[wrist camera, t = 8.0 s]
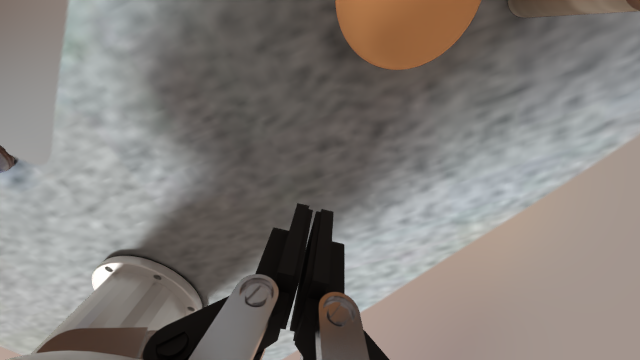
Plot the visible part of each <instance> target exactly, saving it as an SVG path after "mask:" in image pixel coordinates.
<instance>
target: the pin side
mask: <svg viewBox="0 0 640 360" xmlns="http://www.w3.org/2000/svg"><path fill="white" fill-rule="evenodd" d="M507 2H508V6H509V9H510V10H511V12H512V13H513V14H514V15H516V16H518V17H522V18H531V17H548V16H565V15H582V14H599V13H616V12H633V11H640V0H507Z"/></svg>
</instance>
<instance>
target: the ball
mask: <svg viewBox="0 0 640 360" xmlns="http://www.w3.org/2000/svg"><path fill="white" fill-rule="evenodd" d="M480 3H481V0H335V5H336V12H337V17H338V21H339V25H340V28H341V30H342V33H343V35H344V37H345V39H346V41H347V42H348V44H349V45H350V46H351V48H352V49H353V50H354V51H355V52H356V53H357V54H358V55H359V56H360V57H361V58H363V59H364V60H365V61H367V62H369V63H370V64H373V65H375V66H378V67H381V68H385V69H391V70H403V69H410V68H414V67H417V66H421V65H423V64H425V63H428V62H430V61H432V60H433V59H435V58H437V57H438V56H440V55H441V54H443V53H444V52H445V51H446V50H448V49H449V48H450V47H451V46H452V45H453V44H454V43H455V42H456V41H457V40H458V39H459V38H460V37H461V35H462V34H463V33H464V31H465V30H466V29H467V27H468V26H469V24H470V23H471V21H472V19H473V18H474V16H475V14H476V12H477V10H478V7H479V5H480Z"/></svg>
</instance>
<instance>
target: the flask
mask: <svg viewBox="0 0 640 360" xmlns="http://www.w3.org/2000/svg"><path fill="white" fill-rule="evenodd" d="M14 160H15V158H14V157H13V156H11V155H9V154H8V153H7V152H6V151H5V149H4V148H3V147H2V146H0V173H1V172H4V171H7V170H9V169H10V168H11V167H13V166H14V165H15V164H14Z"/></svg>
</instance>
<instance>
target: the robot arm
mask: <svg viewBox="0 0 640 360" xmlns="http://www.w3.org/2000/svg"><path fill="white" fill-rule="evenodd" d="M312 212H313V210H310V209H309V206H307V205H303V204H299V203H297V207H296V210H295V214H294V217H293V220H292V224H291V227H290V231H287V230H282V229H278V228H273V230H272V232H271V235H270V237H269V240H268V243H267V245H266V248H265V250H264V253H263V256H262V258H261V261H260V263H259V266H258V269H257V271H256V274H253V275H249V276H247V277H245V278H243V279H242V280H241V281H240V282H239V283H238V284H237V285H236V287H235V289H234V290H233V292H232V293H231V295H230V296H228V297H226V298H224V299H222V300H220V301H217V302H215V303H213V304H211V305H209V306H207V307H204V308H202V303H201V300H200V297H199V295H198V294H197V292H196V290H195V289H194V288H193V287H192V286H191V285H190V284H189V283H188V282H187V281H186V280H185V279H184V278H183V277H181V276H180V275H179V274H177V273H176V272H174V271H173V270H171V269H169V268H167V267H165V266H163V265H161V264H159V263H156V262H154V261H151V260H148V259H144V258H140V257H134V256H116V257H111V258H109V259H107V260H105V261H104V262H103V263H101V264H100V265H99V266H98V267H97V268H96V269H95V270H94V272H93V274H92V285H93V287H94V290H95V291H94V292H93V293H92V294H91V295H90V296H89V297H88V298H87V299H86V300H85V301H84V302H83V303H82V304H81V305H80V306H79V307H78V308H77V309H76V310H75V311H74V312H73V313H72V314H71V315H70V316H69V317H68V318H67V319H66V320H65V321H64V322H63V323H62V324H60V325H59V326H58V327H57V328H56V329H55V330H54V331H53V332H52V333H51V334H50V335H49V336H48V337H47V338H46V339H45V340H44V341H43V342H42V343H41V344H40V345H39V346H38V347H37V348H36V349H35V350H34V351H33V352H32V353H31V354H29V355H24V356H20V357H14V358H10V359H7V360H262V358H263V355H264V353H265V349H266V348H267V347H268V346H270V345H271V344H273V343H274V342H276V341H277V340H278V337H279V333H280V329H286V326H287V322H288V319H289V315H290V312H291V308H292V305H293V301H294V298H295V294H296V290H297V294H296V300H295V305H294V310H293V316H292V321H291V326H290V331H294V332H295V333H294V339H293V341H295V345H296V347H297V348H298V350H299V352H300V353H301V357H300V360H389V359H388V358H387V356H386V355H385V354H384V353H383V352H382V351H381V349H380V348H379V347H378V346H377V345H376V344H375V342H374V341H373V340H372V339H371V338H370V337H369V335H368V334H367V333H366V332H365V331H364V330H363V326H362V321H361V317H360V312H359V309H358V306H357V305H356V304H355V302H354V301H353V300H352V299H351V298H350V297H349V296H347V295H345V294H344V244H341V243H337V242H333V241H332V228H333V212H332V211H328V210H323V209H322V210H321V212H318V211H316V214H315V218H314V221H313V225H312V229H311V232H310V236H309V240H308V243H307V239H308V234H309V228H310V223H311V218H312ZM306 244H307V247H306ZM298 283H299V284H298ZM297 287H298V289H297Z"/></svg>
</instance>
